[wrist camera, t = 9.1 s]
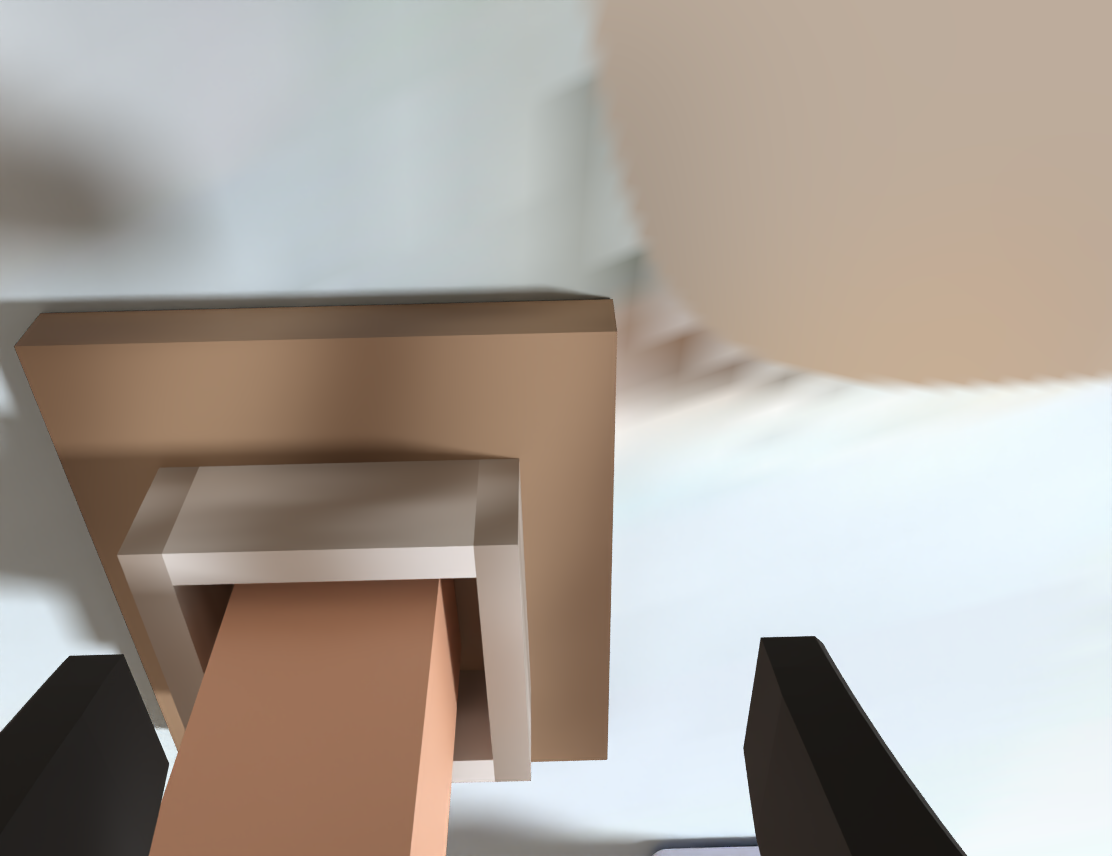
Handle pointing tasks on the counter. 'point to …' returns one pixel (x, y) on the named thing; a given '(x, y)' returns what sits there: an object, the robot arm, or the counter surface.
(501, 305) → the socket board
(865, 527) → the counter surface
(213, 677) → the peg
